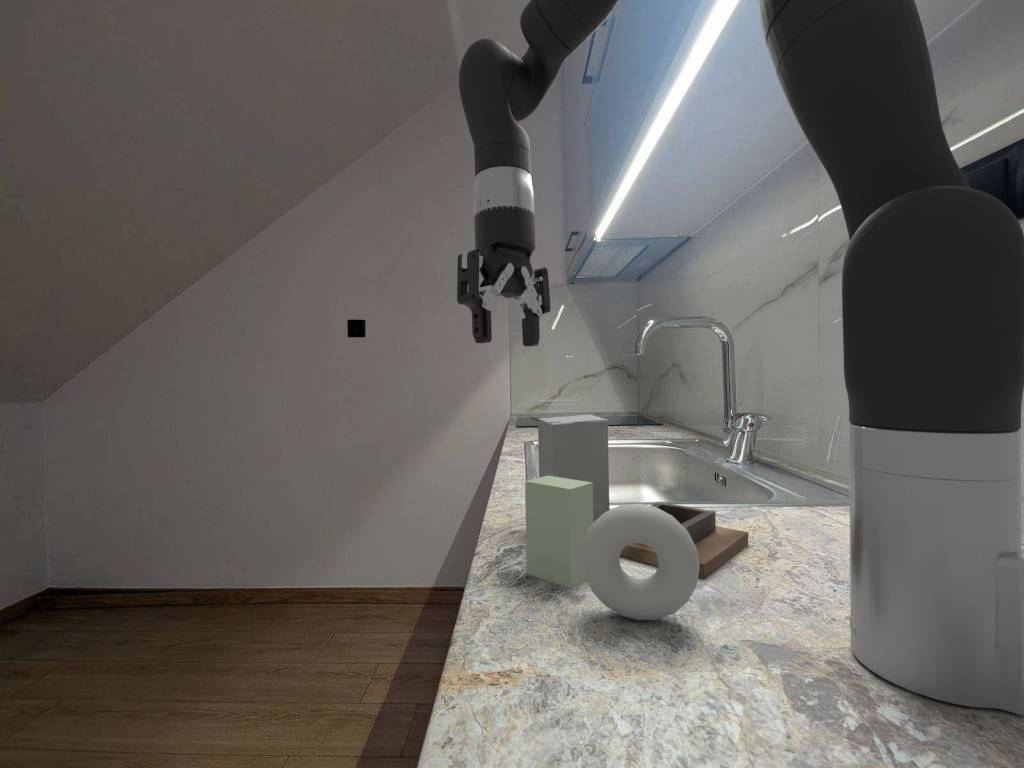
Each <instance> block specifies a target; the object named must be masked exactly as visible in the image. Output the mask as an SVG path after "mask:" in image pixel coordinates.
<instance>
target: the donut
mask: <svg viewBox="0 0 1024 768" xmlns="http://www.w3.org/2000/svg"><path fill="white" fill-rule="evenodd" d="M632 543H641V544H645V545H647V546H648V547H650V548H651V549H652V550H653V551H654V552H655V553H656V555H657V557H658V562H659V564H658V566H657V569H656V571H655V572H654V573H653V574H652V575H651V576H648V577H646V578H637V577H633V576H631V575H630V574H628V573H627V572H625V570H624V569H623V567H622V565H621V562H620V557H621V556H620V553H621V551H622V549H623V548H624V547H626V546H627V545H630V544H632ZM581 557H582V564H583V570H584V576H585V578H586V580H587V581H586V582H587V584H588V586H589V589H591V592H592V593H593V594H594V596H595V597H596V598H597V599H598V600H599V601H600V602H601V603H602V604H603V605H604V606H605V607H607V608H608V609H610V610H612V611H613V612H615V613H616V614H618V615H620V616H621V617H626V618H629V619H633V620H636V621H657V620H660V619H663V618H665V617H669V616H672V615H673V614H675V613H677V611H679V610H681V609H682V607H683V606H685V605H686V604H687V603H688V602H689V601H690V599H691V597H692V595H693V593H695V590H696V589H697V586H698V580H699V577H698V574H699V568H700V565H699V559H698V554H697V548H696V546H695V544H694V542H693V540H692V539H691V537H690V535H689V533H688V531H687V530H686V529H685V528H684V527H683V526H682V525H681V524H680V523H679V522H678V521H677V520H676V519H675V518H674V517H673V516H672V515H670V514H668V513H666V512H664V511H662V510H660V509H659V508H657V507H653V506H650V505H647V504H643V503H630V504H620V505H618V506H616V507H613V508H611V509H610V510H609V511H607V512H605V513H603V514H602V515H601V516H600V517H599V518H598V519H597V520H596V521H595V522H594V523H593V524H592V525H591V527H590V529H589V531H588V533H587V535H586V536H585V538H584V543H583V549H582V556H581Z"/></svg>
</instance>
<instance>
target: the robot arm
mask: <svg viewBox="0 0 1024 768" xmlns="http://www.w3.org/2000/svg"><path fill="white" fill-rule="evenodd" d="M619 2H620V0H530V1H529V2H528V3H527V4H526V5H525V7H524V9H523V10H522V12H521V15H520V20H519V21H520V22H519V24H520V30H521V33H522V35H523V38H524V39H525V40H526V43H527V44H528V48H527V50H526V52H525V53H524V55H522V57H521V58H520V56H518V55H516V54H515V53H513V52H512V51H511V50H509V49H508V48H507V47H505V45H503V44H501V43H500V42H498V41H497V40H494V39H492V38H481V39H478V40H476V41H474V42H473V43H472V44H471V45H469V47H468V48H467V49H466V51H465V53H464V55H463V57H462V59H461V62H460V66H459V72H458V89H459V96H460V97H459V98H460V101H461V105H462V108H463V113H464V116H465V119H466V123H467V126H468V127H467V128H468V131H469V133H470V138H471V141H472V143H473V149H474V150H473V151H474V152H473V153H474V155H473V156H474V188H473V189H474V190H473V219H474V220H473V221H474V223H473V224H474V249H472V250H469V251H466V252H463V253H459V254H458V255H457V272H456V273H457V274H456V275H457V277H456V279H457V281H456V287H457V288H456V301H457V303H458V304H459V305H461V306H462V305H463V306H466V307H467V308H469V311H470V312H471V325H472V327H471V328H472V336H473V339H474V342H475V343H476V344H480V345H481V344H489V343H491V342H492V339H493V336H492V335H493V334H492V330H493V329H492V310H488V309H490V308H491V305H493V303H494V301H495V298H496V297H499V296H502V297H503V298H507V299H511V301H512V303H513V305H516V306H517V307H518V309H519V311H520V314H521V315H522V317H523V318H521V332H522V335H521V337H522V346H523V347H528V348H529V347H537V346H538V345H539V343H540V338H541V336H540V318H541V316H542V315H545V314H547V313H550V312H551V309H552V307H551V296H550V282H549V281H550V280H549V271H548V269H547V267H539V268H534V267H532V264H531V256H532V254H533V253H534V252H535V250H536V225H535V224H536V222H535V221H536V220H535V216H536V215H535V196H534V195H535V194H534V188H533V184H532V183H533V181H532V159H531V144H530V138H529V136H528V133H527V132H526V131H525V130H524V128H523V127H522V126H521V125H520V124H519V122H521V121H523V120H526V118H528V117H529V116H531V115H532V114H533V113H534V112H535V111H536V110H537V108H538V107H539V106H540V104H541V102H542V101H543V100H544V97H545V96H546V94H547V93H548V91H549V89H550V88H551V86H552V84H553V83H554V81H555V80H556V78H557V76H558V75H559V73H560V71H561V69H562V67H563V66H564V64H565V63H566V61H567V60H568V58H570V56H572V55H573V54H574V53H576V52H575V51H577V50H578V49H579V48H580V46H582V44H584V43H585V42H586V41H587V40H588V39H589V38H590V37H591V36H592V35H593V34H594V33H595V32H596V31H597V30H598V29H599V28H600V27H601V26H602V25H603V24H604V22H605V21H606V20H607V19H608V18H609V17H610V15H611V14H612V12H614V10H615V9H616V7H617V6H618V4H619ZM757 9H758V17H759V21H760V26H761V30H762V34H763V38H764V41H765V46H766V49H767V51H768V54H769V57H770V59H771V62H772V65H773V67H774V70H775V71H774V72H775V74H776V76H777V80H778V82H779V84H780V87H781V90H782V91H783V94H784V96H785V98H786V101H787V102H788V104H789V107H790V108H791V111H792V113H793V115H794V116H795V119H796V122H797V123H798V124H799V127H800V129H801V130H802V133H803V134H804V136H805V137H806V139H807V141H808V143H809V144H810V146H811V147H812V149H813V151H814V152H815V154H816V156H817V158H818V159H819V161H820V163H821V164H822V166H823V168H824V170H825V171H826V173H827V175H828V177H829V179H830V181H831V183H832V185H833V187H834V190H835V192H836V195H837V197H838V200H839V204H840V207H841V210H842V215H843V218H844V221H845V226H846V230H847V234H848V238H849V243H848V245H847V248H846V250H845V253H844V258H843V264H842V272H841V273H842V275H841V307H842V308H841V311H842V313H841V314H842V315H841V317H842V318H841V319H842V344H843V345H842V346H843V347H842V348H843V350H842V351H843V377H844V384H845V385H844V386H845V389H846V393H847V400H848V413H849V414H848V420H849V421H848V422H849V423H848V430H849V431H848V432H849V433H848V434H849V435H848V439H849V440H848V441H849V442H848V443H849V445H848V446H849V447H848V448H849V449H848V450H849V460H848V461H849V465H848V467H849V579H850V580H849V581H850V582H849V587H850V588H849V590H850V592H849V593H850V595H849V597H850V601H849V602H850V616H849V628H850V649H851V651H852V653H853V655H854V657H855V658H856V659H857V660H858V662H860V663H861V664H862V665H863V666H865V667H866V668H867V669H868V670H870V671H872V672H873V673H875V674H876V675H878V676H879V677H881V678H883V679H885V680H887V681H888V682H890V683H892V684H894V685H896V686H899V687H901V688H903V689H906V690H908V691H910V692H913V693H915V694H919V695H922V696H925V697H927V698H932V699H934V700H937V701H942V702H946V703H951V704H954V705H960V706H965V707H972V708H980V709H981V708H984V709H985V708H986V709H998V710H1003V711H1006V712H1010V713H1013V714H1017V715H1020V716H1024V555H1023V551H1022V477H1021V476H1022V432H1021V429H1022V403H1023V394H1024V232H1023V229H1022V226H1021V223H1020V222H1019V219H1018V218H1017V216H1016V215H1015V213H1014V212H1013V211H1012V210H1011V209H1010V207H1008V206H1007V205H1006V204H1005V203H1004V202H1002V201H1001V200H1000V199H998V198H996V197H995V196H993V195H991V194H989V193H987V192H985V191H982V190H979V189H977V188H972V187H970V185H969V183H968V181H967V180H966V177H965V176H964V173H963V172H962V169H960V166H959V165H958V163H957V161H956V158H955V157H954V155H953V153H952V150H951V148H950V146H949V143H948V140H947V138H946V135H945V131H944V127H943V123H942V119H941V115H940V109H939V101H938V97H937V90H936V83H935V78H934V72H933V67H932V61H931V57H930V51H929V47H928V44H927V39H926V34H925V31H924V27H923V23H922V19H921V17H920V13H919V10H918V8H917V4H916V2H915V0H757ZM480 275H481V279H480ZM540 296H541V298H540V299H541V304H539V303H540V301H539V297H540ZM528 305H529V306H530V307H529V306H528Z"/></svg>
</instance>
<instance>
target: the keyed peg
mask: <svg viewBox="0 0 1024 768" xmlns="http://www.w3.org/2000/svg"><path fill="white" fill-rule="evenodd" d="M524 489H525V490H524V491H525V493H524V494H525V495H524V498H525V504H524V505H525V506H524V507H525V559H526V561H525V564H526V565H525V566H526V567H525V568H526V569H525V570H526V571H525V572H526V573H525V574H528V575H530V576H533V577H536V578H538V579H542V580H544V581H548V582H550V583H554V584H556V585H558V586H559V585H560V586H562V587H564V588H567V589H571V590H572V589H574V588H575V587H578V586H579V585H581V584H583V583H586V582H587V580H586V578H585V576H584V570H583V564H582V557H581V556H582V549H583V543H584V538H585V536H586V535H587V533H588V531H589V529H590V527H591V525H592V524H593V483H592V482H585V481H579V480H573V479H567V478H560V477H554V476H544V477H540V478H539V477H537V478H533V479H529V480H525V482H524Z"/></svg>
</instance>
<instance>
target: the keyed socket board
mask: <svg viewBox="0 0 1024 768" xmlns="http://www.w3.org/2000/svg"><path fill="white" fill-rule="evenodd" d="M649 506H653V507H657V508H659V509H660V510H662V511H664V512H666V513H668V514H670V515H672V516H673V517H674V518H675V519H676V520H677V521H678V522H679V523H680V524H681V525H682V526H683V527H684V528H685V529H686V530H687V531H688V533H689V535H690V537H691V539H692V540H693V542H694V544H695V546H696V548H697V554H698V559H699V565H700V568H699V574H698V578H701V579H706V578H707V577H709V576H710V575H711V574H712V573H714V572H715V571H716V570H718V569H719V568H721V566H722V565H724V564H725V563H727V561H729V560H730V559H731V558H733V557H734V556H735V555H737V554H738V553H739V552H740V551H742V550H743V549H744V548H746V547H747V546H748V545H749V532H748V531H744V530H738V529H735V528H734V529H732V528H728V527H722V526H718V525H716V524H717V523H716V521H717V520H716V517H717V515H716V511H714V510H708V509H704V508H698V507H692V506H686V505H681V504H680V505H679V504H673V503H670V502H669V503H668V502H661V501H658V502H656V503H655V502H654V503H653V504H650V505H649ZM620 557H622V558H626V559H629V560H634V561H637V562H641V563H645V564H649V565H652V566H656V567H658V564H659V562H658V557H657V555H656V553H655V552H654V551H653V550H652V549H651V548H650V547H648V546H647V545H645V544H641V543H632V544H630V545H627V546H626V547H624V548H623V549H622V551H621V553H620Z"/></svg>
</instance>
